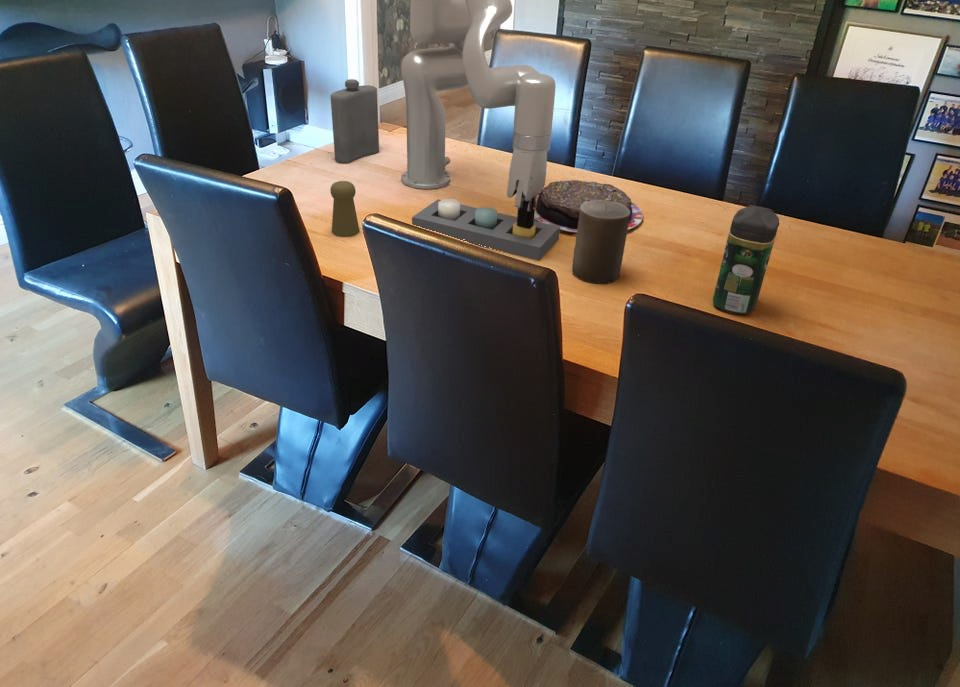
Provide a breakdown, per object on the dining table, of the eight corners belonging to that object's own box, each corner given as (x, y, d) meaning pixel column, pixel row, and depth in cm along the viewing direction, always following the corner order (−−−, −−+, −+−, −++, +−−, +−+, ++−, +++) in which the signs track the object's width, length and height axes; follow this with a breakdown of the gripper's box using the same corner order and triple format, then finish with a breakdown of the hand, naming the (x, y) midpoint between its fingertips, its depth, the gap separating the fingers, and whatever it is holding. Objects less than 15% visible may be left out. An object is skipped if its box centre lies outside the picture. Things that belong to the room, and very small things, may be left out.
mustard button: (517, 234, 156) (518, 219, 154) (537, 238, 154) (538, 224, 152) (508, 242, 152) (509, 227, 150) (529, 247, 150) (530, 232, 149)
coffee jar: (717, 287, 140) (740, 198, 130) (759, 298, 137) (785, 207, 127) (706, 309, 133) (730, 216, 123) (750, 320, 130) (777, 226, 120)
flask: (367, 147, 203) (364, 74, 192) (382, 151, 200) (380, 77, 189) (329, 160, 192) (323, 83, 181) (344, 165, 190) (339, 87, 179)
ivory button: (444, 211, 161) (444, 197, 159) (463, 216, 160) (463, 201, 158) (434, 219, 157) (434, 204, 156) (453, 223, 156) (453, 209, 154)
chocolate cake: (598, 186, 185) (602, 162, 181) (667, 228, 164) (672, 201, 161) (503, 201, 174) (505, 175, 171) (564, 248, 154) (567, 219, 150)
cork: (354, 238, 152) (351, 189, 146) (327, 235, 153) (323, 186, 147) (363, 227, 157) (361, 179, 151) (337, 224, 158) (334, 176, 152)
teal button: (480, 220, 158) (481, 205, 156) (500, 224, 156) (500, 210, 155) (470, 227, 154) (471, 213, 153) (490, 232, 153) (491, 217, 151)
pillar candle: (608, 289, 138) (620, 216, 130) (562, 274, 142) (572, 203, 134) (627, 270, 145) (639, 201, 137) (583, 257, 149) (593, 189, 141)
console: (437, 211, 166) (438, 199, 165) (558, 239, 156) (560, 226, 154) (412, 229, 157) (411, 217, 155) (538, 260, 147) (539, 247, 145)
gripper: (528, 128, 148) (522, 211, 158) (499, 147, 137) (494, 235, 147) (562, 133, 146) (553, 217, 156) (535, 153, 134) (528, 243, 144)
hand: (525, 226), depth 151 cm, fingers closed
